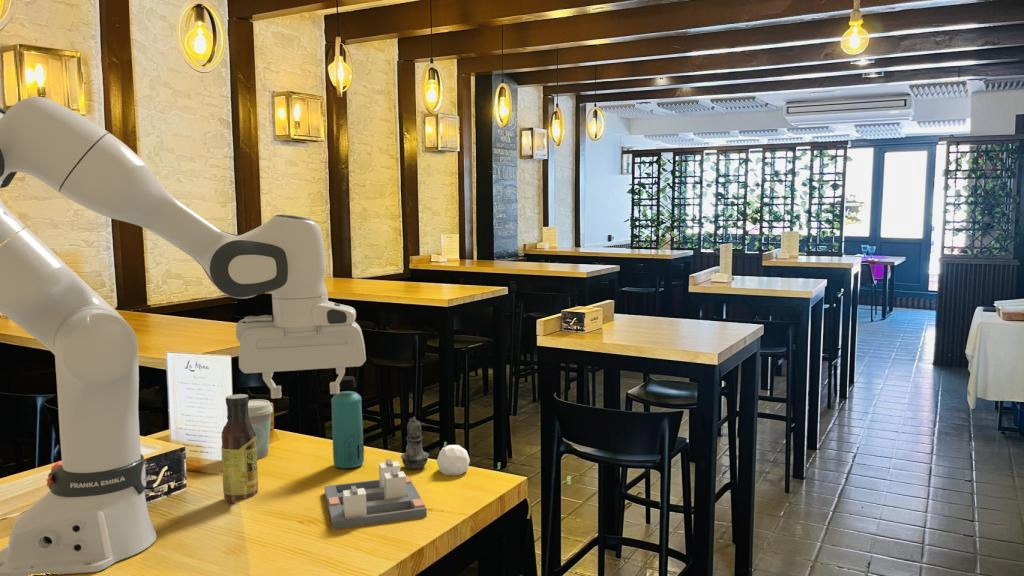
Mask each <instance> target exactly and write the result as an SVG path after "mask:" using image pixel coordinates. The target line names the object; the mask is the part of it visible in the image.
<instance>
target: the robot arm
mask: <svg viewBox="0 0 1024 576" xmlns="http://www.w3.org/2000/svg"><path fill="white" fill-rule="evenodd" d="M17 173H23V174H26V175H27V174H28V175H30V176H32V177H34V178H36V179H38V180H40V181H42V182H43V183H45V185H47V186H49V187H50V188H52V189H54V190H55V191H56V192H58V193H60V194H61V195H62V196H64V197H66V198H67V199H69V200H71V201H72V202H74V203H76V204H78V205H80V206H82V207H84V208H86V209H87V210H90V211H92V212H94V213H97V214H100V215H101V216H103V217H106V218H110V219H113V220H116V221H117V220H118V221H120V222H125V223H128V224H132V225H136V226H139V227H141V228H144V229H145V230H149V232H152V233H153V234H156V235H157V236H158V237H160V238H161V239H164V240H165V242H168V243H169V244H171V245H172V246H174V247H176V248H178V249H179V250H180V251H182V252H183V253H185V254H186V255H187V256H189V257H190V258H192V259H193V260H195V262H197V263H198V264H199V265H200V266H201V267H202V269H203V271H204V272H205V275H206V276H207V277H208V279H209V281H210V282H211V283H213V285H214V286H215V287H216V289H218V290H219V291H220V292H221V293H223V294H224V295H226V296H228V297H231V298H234V299H249V298H253V297H255V296H258V295H262V294H266V293H270V294H271V300H272V301H271V303H272V314H263V315H258V316H256V315H254V316H253V315H248V316H247V315H246V316H245V317H244V318H243V319H239V320H238V322H237V323H236V325H235V336H236V340H237V341H238V342H239V349H238V350H239V351H238V368H239V370H240V371H241V372H242V373H243V374H258V373H259V374H260V373H262V374H261V375H262V380H263V381H264V383H265V384H266V385H267V387H268V388H269V389H270V398H271V399H281V398H282V394H283V393H282V385H276V383H275V382H274V380H273V379H272V378H273V375H274V372H275V373H276V372H290V371H291V372H292V371H306V370H307V371H310V370H320V369H322V370H323V369H335V373H336V375H337V377H336V378H335V379H336V380H335V381H329V382H330V383H329V395H336V394H339V392H341V391H340V390H341V389H339V383H340V382H341V380H342V378H343V376H345V374H346V368H354V367H355V368H356V367H361V366H363V365H364V364H365V362H366V361H367V356H366V345H365V340H364V335H363V331H362V329H361V327H360V325H359V324H358V323H357V321H356V318H357V311H356V309H355V307H352V306H350V305H345V304H341V303H337V302H333V301H330V300H329V295H328V294H329V293H328V289H327V286H326V281H325V278H326V277H325V275H326V271H327V258H326V247H325V240H324V235H323V231H322V228H321V226H320V224H318V223H317V221H315V220H313V219H311V218H307V217H303V216H297V215H292V214H291V215H290V214H289V215H288V214H276V215H273V216H271V218H270V219H269V220H267V221H265V222H264V223H262V224H261V225H259V226H258V227H256V228H254V229H251V230H249V231H247V232H245V233H242V234H235V233H229V232H227V231H223V230H221V229H220V228H218V227H216V226H215V225H212V224H211V223H210V222H208V221H207V220H205V219H204V218H203V217H202V216H200V215H199V214H197V213H195V212H194V211H193V210H191V209H190V208H189V207H187V206H185V205H184V204H182V203H181V202H180V201H178V199H176V198H175V197H174V196H173V195H172V194H171V193H170V192H169V191H168V190H167V189H166V187H164V185H163V184H162V183H161V181H160V180H159V179H158V177H157V175H156V174H155V173H154V171H153V170H152V168H150V166H149V165H148V164H147V163H146V162H145V161H144V160H143V159H142V158H141V157H140V156H139V155H138V154H137V153H135V152H134V151H133V149H131V148H130V147H129V146H128V145H127V144H125V143H124V142H123V141H121V139H118V138H117V137H116V136H115V135H113V134H112V133H110V132H109V131H108V130H106V129H105V128H103V127H101V126H100V125H99V124H97V123H95V122H94V121H92V120H90V119H88V118H87V117H85V116H84V115H82V114H80V113H78V112H76V111H75V110H72V109H71V108H69V107H66V106H65V105H63V104H61V103H59V102H57V101H55V100H52V99H50V98H48V97H44V96H30V97H27V98H24V99H21V100H20V101H18V102H16V103H14V104H13V105H12V106H11V107H9V109H5V108H2V107H0V189H5V188H7V187H8V186H9V185H10V184H11V183H12V181H13V180H14V178H15V176H16V175H17ZM0 314H2V315H3V316H4V317H6V318H7V319H9V320H10V321H11V322H12V323H14V324H15V325H17V326H18V327H20V328H21V329H22V330H24V331H25V332H26V333H27V334H29V335H30V336H31V337H33V338H34V339H35V340H36V341H37V342H39V343H40V344H42V345H43V346H44V348H46V349H48V350H49V351H50V352H51V353H52V354H53V355H54V359H55V360H54V363H55V374H56V392H57V394H56V395H57V406H58V408H57V409H58V424H59V440H60V453H61V460H59V461H56V462H55V463H54V464H53V465H52V466H51V469H50V472H49V473H48V474H47V479H46V486H47V488H48V490H49V491H48V492H47V493H45V495H43V496H41V498H39V500H37V501H36V502H35V503H33V504H32V505H31V506H30V507H29V508H28V509H26V510H25V511H24V512H23V513H22V514H21V515H20V516H19V517H18V518H17V519H16V521H15V522H14V523H13V526H12V528H11V530H10V531H11V532H10V533H9V534H10V535H9V539H8V543H7V544H6V545H5V546H4V547H3V548H2V549H1V550H0V576H28V575H31V574H41V573H42V574H43V573H45V574H47V573H50V574H54V573H55V574H57V575H67V574H69V575H70V574H83V573H84V574H86V573H95V572H99V571H103V570H104V569H107V568H108V567H110V566H112V565H113V564H115V563H116V562H119V561H121V560H124V559H127V558H130V557H132V556H134V555H136V554H139V553H140V552H142V551H144V550H146V549H147V548H149V547H150V546H151V545H153V544H154V542H156V539H157V535H158V534H157V532H156V530H155V527H154V525H153V522H152V519H151V515H150V512H149V511H150V510H149V508H148V503H147V498H146V493H145V490H146V487H147V474H146V473H147V471H146V463H145V457H144V455H143V454H142V453H141V437H140V419H139V416H140V415H139V397H140V395H139V388H140V386H139V385H140V384H139V383H140V375H139V374H140V372H139V371H140V369H139V366H140V364H139V361H140V360H139V340H138V337H137V334H136V332H135V330H134V329H133V327H132V326H131V325H130V324H129V323H128V322H127V320H125V318H124V317H123V316H122V315H121V314H120V313H119V312H118V311H117V310H115V308H113V307H112V306H111V305H110V304H109V303H108V302H107V301H106V300H105V299H104V298H103V297H102V296H101V295H100V294H99V293H97V292H96V291H95V290H94V289H93V288H92V287H91V286H90V285H89V284H88V283H87V282H86V281H84V279H82V278H81V277H80V276H79V275H78V274H77V273H76V272H75V271H74V270H73V269H72V268H71V267H70V266H69V265H68V264H66V263H65V262H64V261H63V260H62V259H61V258H60V257H59V256H58V255H57V253H55V252H54V251H53V250H51V248H50V247H49V246H47V245H46V244H45V243H44V242H43V241H42V240H41V239H40V238H39V237H38V236H37V235H36V234H35V233H34V232H33V231H31V229H29V227H27V226H26V225H25V224H24V223H23V222H22V221H21V220H20V219H19V218H17V217H16V216H15V215H14V214H13V213H12V211H11V210H10V209H9V208H8V207H7V206H6V205H5V204H4V202H3V200H2V198H1V196H0ZM58 573H59V574H58Z"/></svg>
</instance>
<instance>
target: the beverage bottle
mask: <svg viewBox="0 0 1024 576" xmlns="http://www.w3.org/2000/svg"><path fill="white" fill-rule="evenodd" d="M356 387H357V384H356V378H355V377H354V376H351V375H350V376H349V375H346V376H345V375H344V376H343V378H342V380H341V382H340V383H339V390H346V391H339V394H333V397H332V398H331V399H330V402H331V420H332V421H331V422H332V426H331V427H332V429H331V430H332V431H331V434H332V435H331V436H332V456H333V457H332V458H333V463H334V464H333V465H334V466H335V467H336V468H339V469H351V468H357V467H360V466H362V465H363V464H364V460H365V442H364V438H365V437H364V428H363V413H362V412H363V410H362V409H363V408H362V406H363V405H362V396H361V395H360V394H359V393H358V392H356V391H354V390H353V391H352V390H351V389H354V388H356ZM350 390H351V391H350Z"/></svg>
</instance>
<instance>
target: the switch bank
mask: <svg viewBox="0 0 1024 576" xmlns="http://www.w3.org/2000/svg"><path fill="white" fill-rule="evenodd" d="M351 486H356V488H357V489H360V488H364V490H365V492H366V509H367V516H360V517H352V518H345V519H344V512H343V491H344V490H351ZM406 493H407V497H400V498H393V499H385V497H384V487H383V488H380V481H379V479H371V480H364V481H355V482H349V483H348V482H347V483H340V484H331V485H324V498H325V500H326V505H327V510H328V514H329V520H330V523H331V529H332V530H333V531H334V530H342V529H347V528H355V527H362V526H368V525H370V526H371V525H376V524H383V523H389V522H397V521H398V522H399V521H405V520H411V519H419V518H425V517H428V514H427V513H428V511H427V507H426V505H425V503H424V501H423V500H422V498H421V495H420V494H419V492H418V490H417V489H416V486H415V485H414V483H413V482H412V480H411V478H410V477H409V475H406Z"/></svg>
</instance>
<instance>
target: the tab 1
mask: <svg viewBox="0 0 1024 576" xmlns="http://www.w3.org/2000/svg"><path fill="white" fill-rule="evenodd" d="M365 490H366V489H364V488H360V489H357V488H356V486H351V490H344V491H343V492H342V493H343V504H342V505H343V512H344V519H345V518H352V517H360V516H367V515H368V514H367V509H366V502H367V501H366V492H365Z"/></svg>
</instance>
